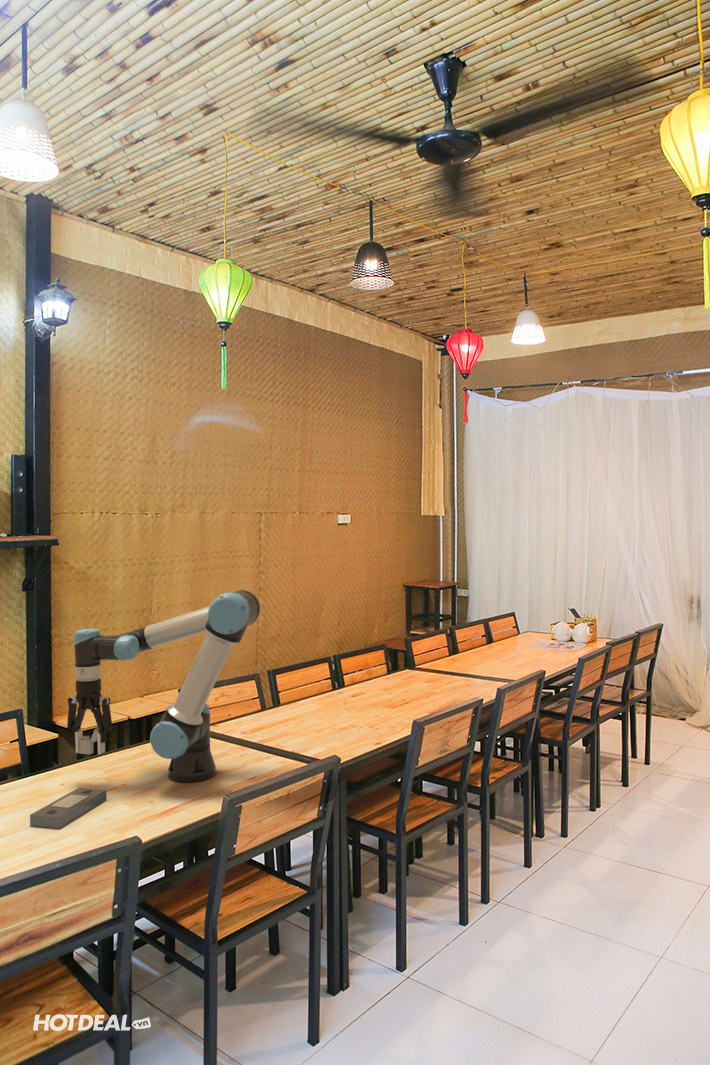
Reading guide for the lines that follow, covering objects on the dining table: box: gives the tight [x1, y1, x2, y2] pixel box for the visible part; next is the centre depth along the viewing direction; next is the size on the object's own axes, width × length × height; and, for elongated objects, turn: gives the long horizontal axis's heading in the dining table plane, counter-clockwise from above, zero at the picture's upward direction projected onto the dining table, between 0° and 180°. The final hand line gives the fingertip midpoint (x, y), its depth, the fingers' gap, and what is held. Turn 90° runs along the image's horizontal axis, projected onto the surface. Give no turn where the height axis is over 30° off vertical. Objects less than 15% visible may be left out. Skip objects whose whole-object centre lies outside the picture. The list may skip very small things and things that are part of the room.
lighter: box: [78, 727, 100, 755], centre depth 231 cm, size 7×2×8 cm, turn 77°
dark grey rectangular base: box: [29, 786, 108, 830], centre depth 209 cm, size 9×22×3 cm, turn 166°
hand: (90, 752), depth 231 cm, fingers closed on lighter, 7 cm apart
